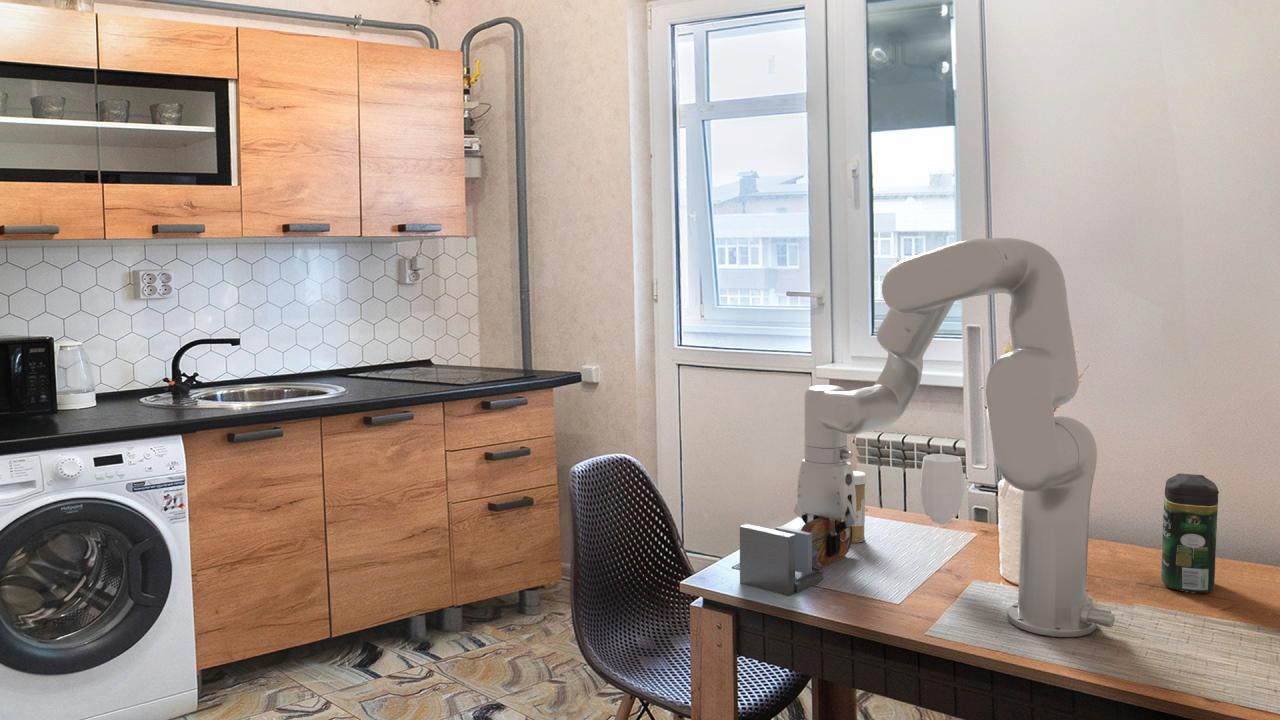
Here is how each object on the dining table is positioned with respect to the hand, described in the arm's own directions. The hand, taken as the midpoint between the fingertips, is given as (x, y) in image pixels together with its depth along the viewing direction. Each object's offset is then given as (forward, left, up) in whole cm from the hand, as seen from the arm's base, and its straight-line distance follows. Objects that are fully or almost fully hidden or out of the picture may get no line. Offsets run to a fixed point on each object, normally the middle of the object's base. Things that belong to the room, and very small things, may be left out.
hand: (825, 552), depth 185 cm
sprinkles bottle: (+3, -15, -2) cm, 15 cm away
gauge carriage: (+1, +10, -1) cm, 10 cm away
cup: (-19, -7, -2) cm, 20 cm away
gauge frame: (0, +14, -2) cm, 14 cm away
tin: (0, 0, -2) cm, 2 cm away
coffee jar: (-53, -28, -2) cm, 60 cm away
